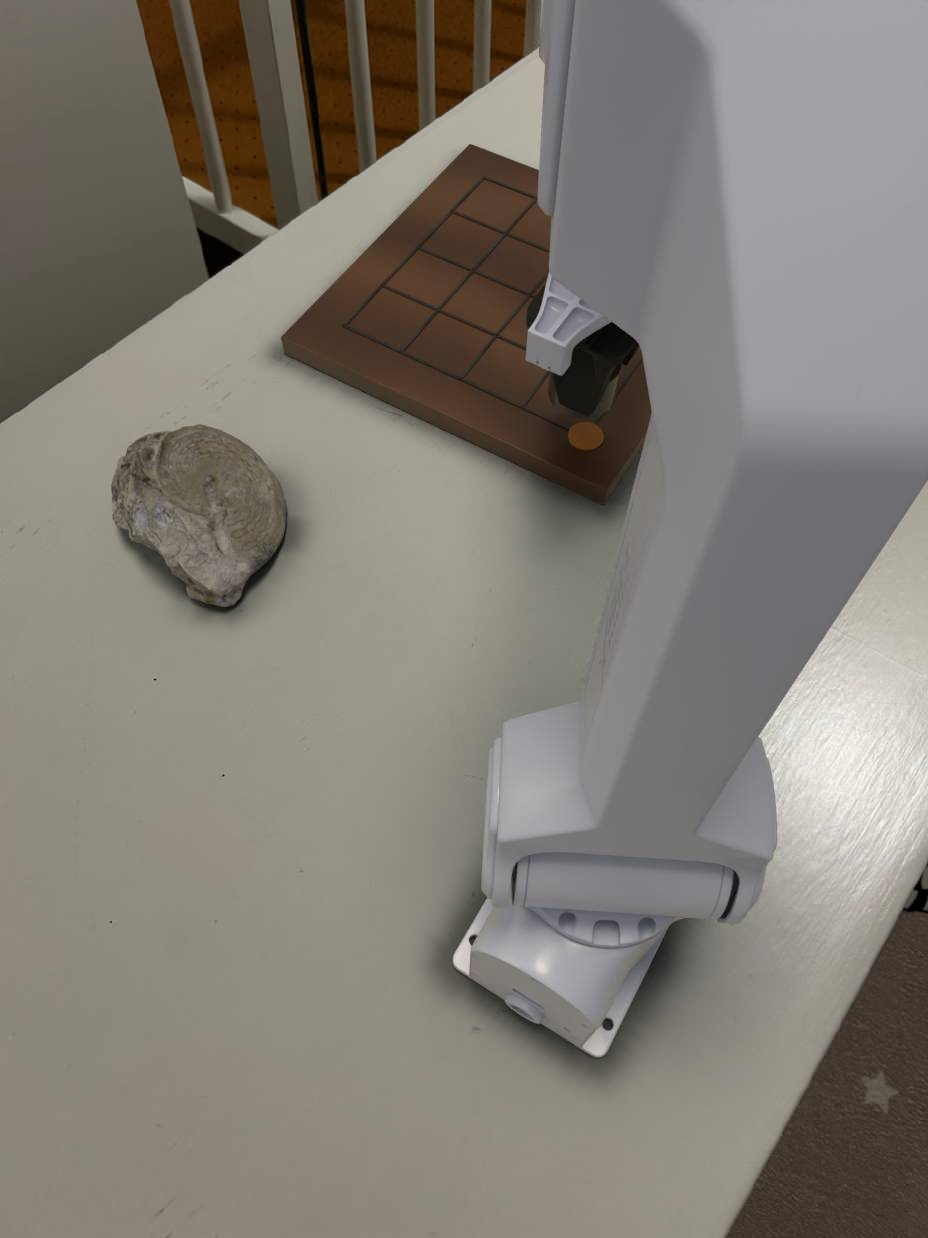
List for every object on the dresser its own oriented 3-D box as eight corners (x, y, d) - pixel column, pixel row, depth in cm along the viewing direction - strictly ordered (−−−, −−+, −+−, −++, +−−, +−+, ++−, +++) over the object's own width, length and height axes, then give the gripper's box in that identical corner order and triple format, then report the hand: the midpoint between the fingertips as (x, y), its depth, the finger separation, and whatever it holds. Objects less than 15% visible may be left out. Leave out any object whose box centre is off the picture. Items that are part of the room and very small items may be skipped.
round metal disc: (534, 398, 56) (537, 365, 54) (571, 357, 58) (575, 324, 56) (592, 429, 55) (598, 397, 53) (628, 386, 57) (635, 354, 55)
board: (603, 505, 59) (607, 489, 57) (283, 353, 65) (279, 335, 63) (758, 273, 69) (764, 254, 68) (469, 160, 75) (469, 141, 74)
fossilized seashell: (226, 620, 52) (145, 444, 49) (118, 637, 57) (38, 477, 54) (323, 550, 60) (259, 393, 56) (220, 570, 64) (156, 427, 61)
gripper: (641, 294, 39) (599, 497, 51) (777, 110, 45) (712, 329, 57) (491, 233, 41) (483, 443, 53) (642, 63, 47) (605, 285, 59)
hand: (595, 380), depth 55 cm, fingers closed on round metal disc, 4 cm apart
